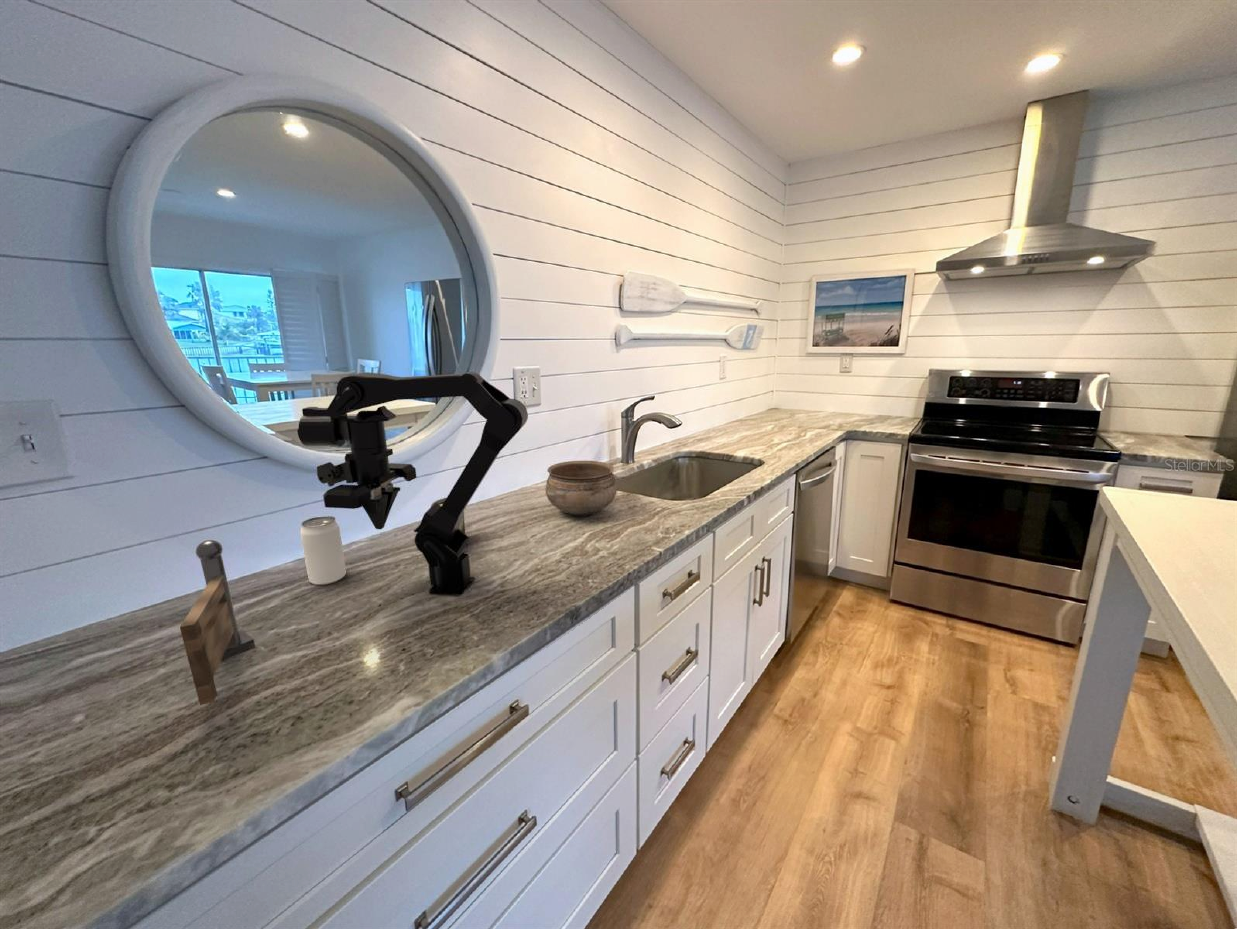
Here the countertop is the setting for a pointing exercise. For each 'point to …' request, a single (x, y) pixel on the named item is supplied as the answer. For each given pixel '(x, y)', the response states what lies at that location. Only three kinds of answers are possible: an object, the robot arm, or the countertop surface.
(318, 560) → the can
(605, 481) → the cooking pot
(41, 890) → the countertop surface
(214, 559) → the gate post
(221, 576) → the gate
